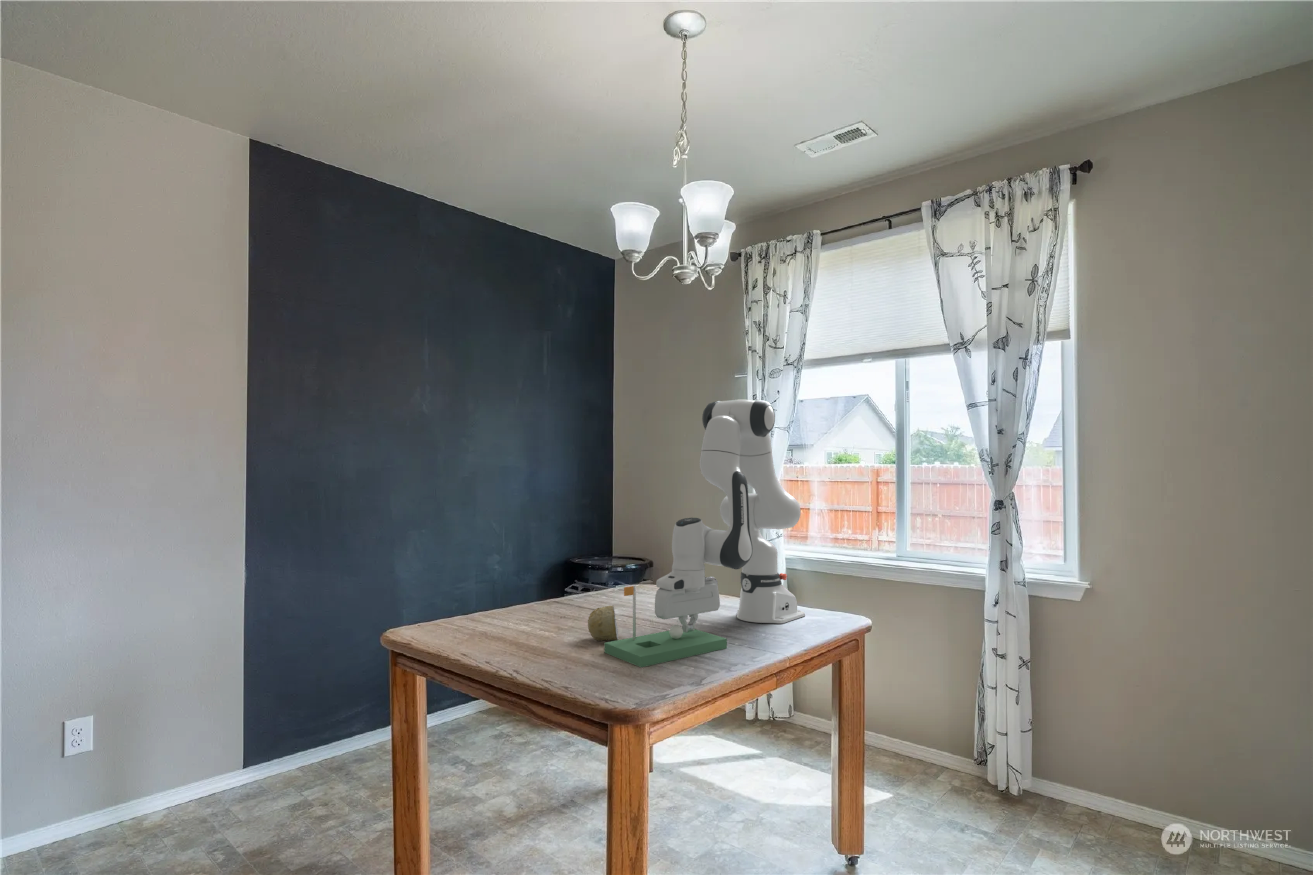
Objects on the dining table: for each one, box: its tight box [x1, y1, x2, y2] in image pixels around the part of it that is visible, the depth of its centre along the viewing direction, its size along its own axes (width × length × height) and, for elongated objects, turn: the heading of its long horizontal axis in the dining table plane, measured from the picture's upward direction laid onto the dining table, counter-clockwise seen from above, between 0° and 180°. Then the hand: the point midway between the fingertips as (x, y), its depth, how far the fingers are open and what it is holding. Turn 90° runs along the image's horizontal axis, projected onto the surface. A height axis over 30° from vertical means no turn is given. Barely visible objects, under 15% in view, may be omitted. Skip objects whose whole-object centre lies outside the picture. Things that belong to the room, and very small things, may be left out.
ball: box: [668, 624, 683, 639], centre depth 182 cm, size 4×4×4 cm
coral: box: [587, 605, 619, 642], centre depth 190 cm, size 10×10×10 cm
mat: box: [603, 585, 728, 668], centre depth 180 cm, size 28×16×16 cm, turn 127°
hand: (688, 631), depth 184 cm, fingers closed
